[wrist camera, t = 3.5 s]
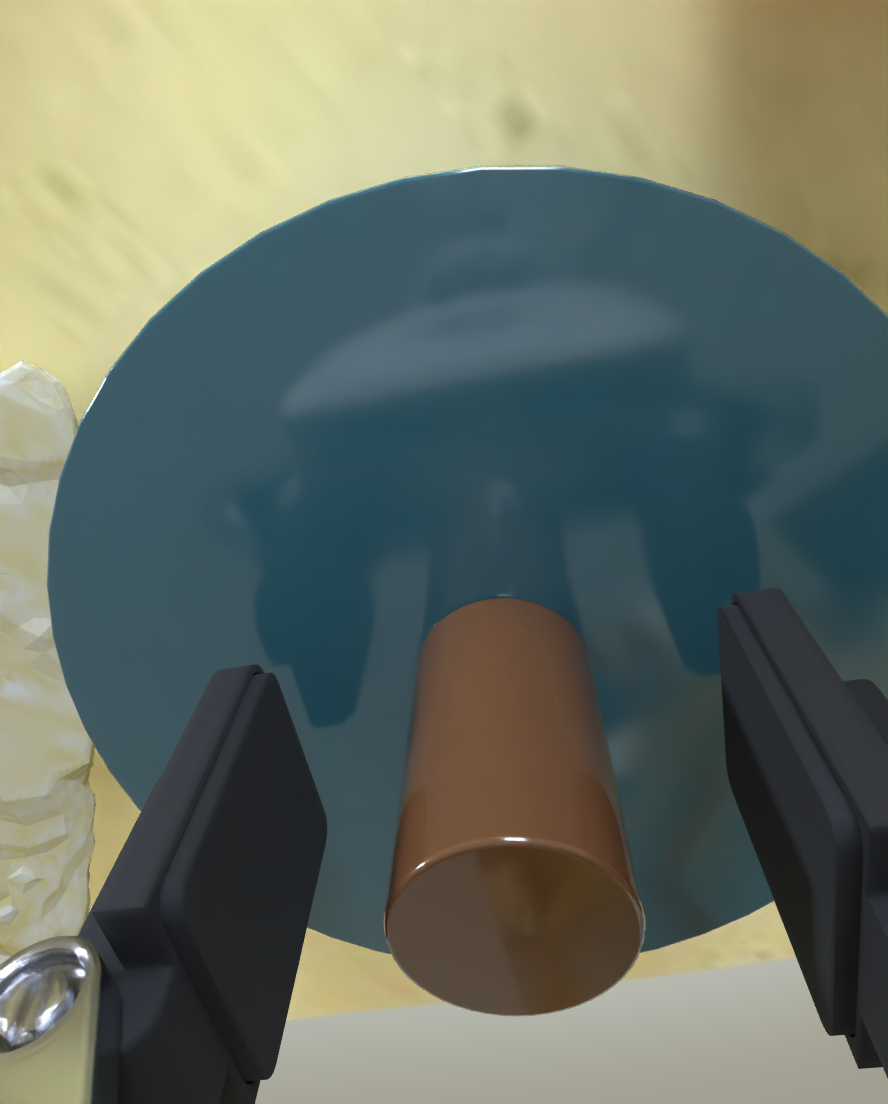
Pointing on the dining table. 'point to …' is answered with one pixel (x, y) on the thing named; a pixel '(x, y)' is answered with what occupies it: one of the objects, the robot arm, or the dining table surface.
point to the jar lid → (485, 548)
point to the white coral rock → (37, 683)
